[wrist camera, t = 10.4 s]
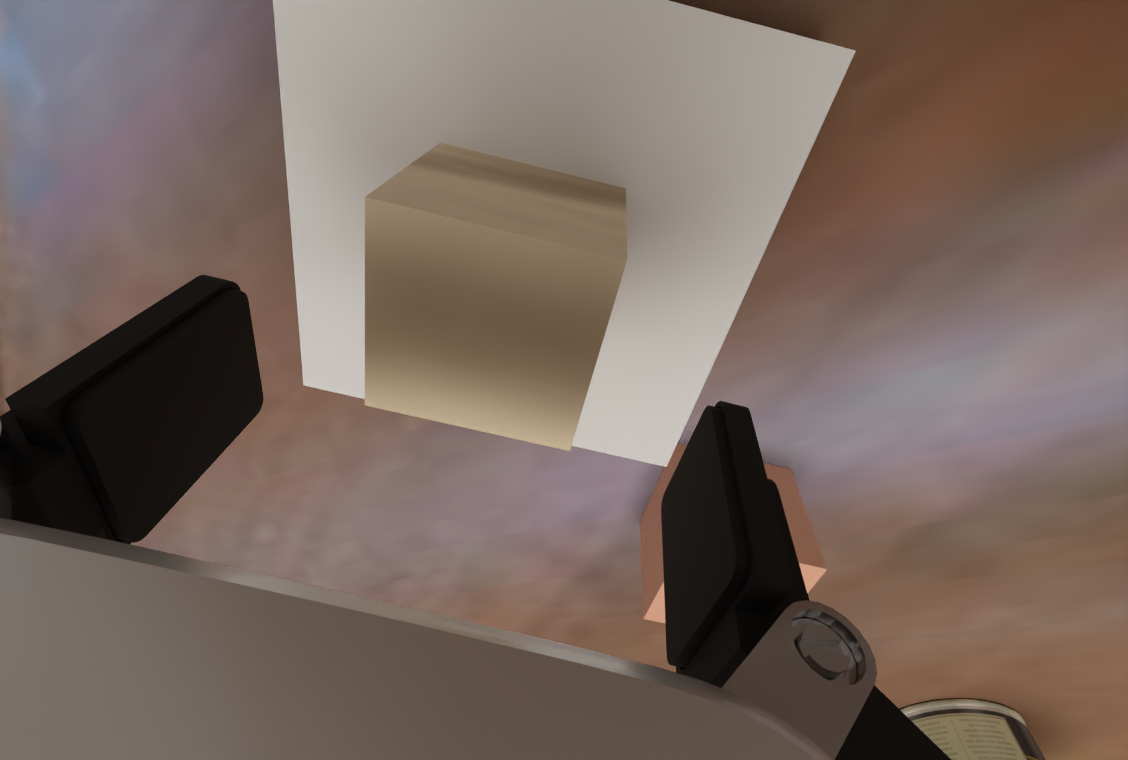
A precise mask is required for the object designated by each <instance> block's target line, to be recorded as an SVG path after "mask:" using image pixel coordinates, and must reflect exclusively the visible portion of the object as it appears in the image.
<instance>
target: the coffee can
mask: <svg viewBox="0 0 1128 760" xmlns="http://www.w3.org/2000/svg"><path fill="white" fill-rule="evenodd" d="M900 710H901V711H902V712H903V713H904V714H905V715H906V716H907V717H908V718H909V719H910V720H911V721H912V722H913V723H914V724H915V725H916V726H917V727H918V728H919V729H920V730H921V731H922V732H923V733H924V734H925V735H926V736H928V737H929V738H930V739H931V740H932V741H933V742H934V743H935V744H936V745H937V746H938V747H939V748H940V749H941V750H942V751H943V752H944V753H945V754H946V755H947V756H948V757H949V758H950V759H951V760H1045V758H1044V757H1043V755H1042V753H1041V751H1040V750H1039V748H1038V746H1037V745H1036V743H1035V741H1034V739H1033V737H1032V736H1031V734H1030V732H1029V730H1028V728H1027V725H1026V723H1025V721H1024V719H1023V718H1022V717H1021V716H1020V715H1019V714H1018V713H1017V712H1015V711H1014V710H1012V709H1010V708H1008V707H1006V706H1003V705H1001V704H998V703H994V702H990V701H983V700H976V699H944V700H934V701H929V702H925V703H920V704H915V705H911V706H908V707H906V708H903V709H900Z"/></svg>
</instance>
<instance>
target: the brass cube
mask: <svg viewBox="0 0 1128 760" xmlns="http://www.w3.org/2000/svg"><path fill="white" fill-rule="evenodd" d="M626 262H627V226H626V189H625V188H621V187H617V186H613V185H609V184H605V183H601V182H597V181H593V180H589V179H585V178H581V177H577V176H573V175H569V174H565V173H561V172H557V171H553V170H549V169H545V168H541V167H537V166H533V165H529V164H525V163H521V162H517V161H513V160H509V159H505V158H501V157H496V156H492V155H488V154H484V153H480V152H476V151H472V150H468V149H464V148H460V147H456V146H452V145H448V144H444V143H439V144H438V145H436V146H435V147H433V148H432V149H431V150H429V151H428V152H426V153H425V154H424V155H422V156H421V157H419V158H418V159H417V160H415V161H414V162H413V163H411V164H410V165H408V166H407V167H406V168H404V169H403V170H401V171H400V172H399V173H397V174H396V175H394V176H393V177H392V178H390V179H389V180H387V181H386V182H385V183H383V184H382V185H381V186H379V187H378V188H376V189H375V190H374V191H372V192H371V193H369V194H368V195H367V196H365V405H366V406H371V407H375V408H380V409H384V410H388V411H393V412H397V413H402V414H406V415H411V416H415V417H420V418H424V419H429V420H433V421H438V422H442V423H447V424H451V425H455V426H460V427H464V428H469V429H473V430H478V431H482V432H487V433H491V434H496V435H500V436H505V437H509V438H514V439H518V440H522V441H527V442H531V443H536V444H540V445H545V446H549V447H554V448H558V449H563V450H567V451H570V449H571V445H572V442H573V439H574V435H575V432H576V429H577V425H578V422H579V419H580V415H581V412H582V409H583V405H584V402H585V399H586V395H587V392H588V389H589V385H590V382H591V379H592V375H593V372H594V369H595V365H596V362H597V359H598V355H599V352H600V349H601V345H602V342H603V339H604V335H605V332H606V329H607V325H608V322H609V319H610V316H611V312H612V309H613V306H614V302H615V299H616V296H617V292H618V289H619V286H620V282H621V279H622V276H623V272H624V269H625V266H626Z"/></svg>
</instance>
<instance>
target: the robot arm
mask: <svg viewBox="0 0 1128 760" xmlns="http://www.w3.org/2000/svg"><path fill="white" fill-rule="evenodd" d="M5 400H6V401H7V403H8V405H9V407H10V409H11V410H10V411H8V412H7V413H5V414H3V415H2V416H0V760H951V759H950V758H949V757H948V756H947V755H946V754H945V753H944V752H943V751H942V750H941V749H940V748H939V747H938V746H937V745H936V744H935V743H934V742H933V741H932V740H931V739H930V738H929V737H928V736H926V735H925V734H924V733H923V732H922V731H921V730H920V729H919V728H918V727H917V726H916V725H915V724H914V723H913V722H912V721H911V720H910V719H909V718H908V717H907V716H906V715H905V714H904V713H903V712H902V711H901V710H899V709H898V708H897V707H896V706H895V705H894V704H893V703H892V702H891V701H890V700H889V699H888V698H887V697H886V696H885V695H884V694H883V693H882V692H881V691H880V690H879V689H878V688H877V687H876V686H875V685H874V684H875V680H876V676H877V670H876V663H875V658H874V656H873V653H872V651H871V649H870V646H869V644H868V643H867V641H866V640H865V638H864V637H863V636H862V634H861V633H860V631H859V630H858V629H857V628H856V627H855V626H854V625H853V624H852V623H851V622H850V621H849V620H848V619H847V618H846V617H844V616H843V615H841V614H840V613H839V612H837V611H836V610H834V609H833V608H831V607H828V606H826V605H824V604H821V603H819V602H813V601H809V598H808V594H807V590H806V587H805V583H804V580H803V576H802V572H801V569H800V565H799V562H798V558H797V555H796V551H795V547H794V544H793V540H792V537H791V533H790V529H789V526H788V522H787V519H786V515H785V512H784V508H783V504H782V501H781V497H780V494H779V490H778V488H777V485H776V483H775V482H774V481H773V480H771V479H768V478H767V475H766V471H765V467H764V463H763V459H762V456H761V452H760V448H759V444H758V441H757V437H756V433H755V429H754V425H753V422H752V418H751V414H750V411H749V409H748V408H747V407H743V406H739V405H735V404H731V403H727V402H723V401H719V402H718V403H717V404H716V405H715V407H713V406H707V407H706V408H705V410H704V412H703V414H702V416H701V418H700V420H699V422H698V424H697V426H696V428H695V430H694V432H693V434H692V436H691V439H690V441H689V443H688V445H687V447H686V449H685V451H684V453H683V455H682V457H681V459H680V461H679V463H678V465H677V467H676V470H675V472H674V474H673V476H672V478H671V480H670V482H669V484H668V486H667V488H666V490H665V492H664V495H663V498H662V504H661V523H662V548H663V572H664V597H665V622H666V647H667V660H668V663H669V664H670V665H673V666H676V673H675V672H672V671H669V670H665V669H662V668H659V667H655V666H651V665H647V664H644V663H640V662H636V661H632V660H628V659H624V658H620V657H616V656H612V655H608V654H604V653H600V652H596V651H592V650H588V649H584V648H580V647H576V646H572V645H568V644H564V643H559V642H555V641H551V640H547V639H542V638H538V637H534V636H529V635H525V634H521V633H517V632H512V631H508V630H504V629H499V628H495V627H491V626H487V625H482V624H478V623H474V622H469V621H465V620H461V619H457V618H452V617H448V616H444V615H439V614H435V613H431V612H427V611H422V610H418V609H413V608H409V607H405V606H400V605H396V604H392V603H387V602H383V601H378V600H374V599H370V598H365V597H361V596H357V595H352V594H348V593H344V592H339V591H335V590H330V589H326V588H322V587H317V586H313V585H308V584H304V583H299V582H295V581H291V580H286V579H282V578H277V577H273V576H269V575H264V574H260V573H255V572H251V571H247V570H242V569H238V568H233V567H229V566H224V565H220V564H215V563H211V562H206V561H202V560H197V559H193V558H188V557H184V556H179V555H175V554H170V553H166V552H161V551H157V550H152V549H148V548H143V547H139V546H134V545H130V544H131V543H132V542H133V543H134V542H138V541H140V540H142V539H143V538H144V537H145V536H146V535H147V534H148V533H149V532H150V531H151V530H152V529H153V528H154V527H155V526H156V525H157V523H158V522H159V521H160V520H161V519H162V518H163V517H164V516H165V515H166V514H167V513H168V511H169V510H170V509H171V508H172V507H173V506H174V505H175V504H176V503H177V502H178V500H179V499H180V498H181V497H182V496H183V495H184V494H185V493H186V492H187V491H188V490H189V488H190V487H191V486H192V485H193V484H194V483H195V482H196V481H197V480H198V479H199V478H200V476H201V475H202V474H203V473H204V472H205V471H206V470H207V469H208V468H209V467H210V466H211V464H212V463H213V462H214V461H215V460H216V459H217V458H218V457H219V456H220V455H221V453H222V452H223V451H224V450H225V449H226V448H227V447H228V446H229V445H230V444H231V443H232V441H233V440H234V439H235V438H236V437H237V436H238V435H239V434H240V433H241V432H242V431H243V429H244V428H245V427H246V426H247V425H248V424H249V423H250V422H251V421H252V420H253V418H254V417H255V416H256V415H257V414H258V413H259V411H260V409H261V407H262V404H263V392H262V385H261V379H260V372H259V366H258V360H257V353H256V347H255V340H254V334H253V328H252V321H251V315H250V308H249V302H248V298H247V295H246V294H245V293H244V292H242V291H241V290H240V287H239V286H238V285H237V284H236V283H235V282H232V281H228V280H224V279H220V278H216V277H212V276H207V275H201V276H198V277H196V278H195V279H193V280H192V281H190V282H188V283H187V284H185V285H184V286H182V287H181V288H179V289H177V290H176V291H174V292H173V293H171V294H170V295H168V296H166V297H165V298H163V299H162V300H160V301H159V302H157V303H155V304H154V305H152V306H151V307H149V308H148V309H146V310H144V311H143V312H141V313H140V314H138V315H137V316H135V317H133V318H132V319H130V320H129V321H127V322H125V323H124V324H122V325H121V326H119V327H118V328H116V329H114V330H113V331H111V332H110V333H108V334H107V335H105V336H103V337H102V338H100V339H99V340H97V341H96V342H94V343H92V344H91V345H89V346H88V347H86V348H85V349H83V350H81V351H80V352H78V353H77V354H75V355H74V356H72V357H70V358H69V359H67V360H66V361H64V362H62V363H61V364H59V365H58V366H56V367H55V368H53V369H51V370H50V371H48V372H47V373H45V374H44V375H42V376H40V377H39V378H37V379H36V380H34V381H33V382H31V383H29V384H28V385H26V386H25V387H23V388H22V389H20V390H18V391H17V392H15V393H14V394H12V395H11V396H9V397H7V398H6V399H5Z"/></svg>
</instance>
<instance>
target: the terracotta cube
mask: <svg viewBox="0 0 1128 760" xmlns="http://www.w3.org/2000/svg"><path fill="white" fill-rule="evenodd" d="M686 447H687V445H683V444H678V443H677V445H676V447H675V450H674V452H673V454H672V456H671V458H670V461H669V463H668V465H667V467H664V469H663V471H662V474H661V476H660V478H659V480H658V482H657V485H656V487H655V489H654V491H653V494H652V496H651V498H650V500H649V502H648V505H647V507H646V509H645V511H644V514H643V516H642V518H641V520H640V531H641V560H642V590H643V619H647V620H652V621H656V622H661V623H666V622H665V597H664V572H663V548H662V523H661V504H662V498H663V495H664V492H665V490H666V488H667V486H668V484H669V482H670V480H671V478H672V476H673V474H674V472H675V470H676V467H677V465H678V463H679V461H680V459H681V457H682V455H683V453H684V451H685V449H686ZM764 467H765V471H766V475H767V478H768V479H771V480H773V481H774V482H775V483H776V485H777V488H778V490H779V494H780V497H781V501H782V504H783V508H784V512H785V515H786V519H787V522H788V526H789V529H790V533H791V537H792V540H793V544H794V547H795V551H796V555H797V558H798V562H799V565H800V569H801V572H802V576H803V580H804V583H805V587H806V590H807V593H808V592H809V591H810V590H811V588H812V587H813V586H814V585H815V583H816V582H817V581H818V580H819V579H820V577H821V576H822V575H823V574H824V572H825V571H826V570H827V567H826V565H825V562H824V559H823V556H822V554H821V551H820V548H819V545H818V543H817V540H816V537H815V535H814V532H813V529H812V526H811V524H810V521H809V518H808V516H807V513H806V510H805V507H804V505H803V502H802V499H801V496H800V494H799V491H798V488H797V486H796V483H795V480H794V477H793V475H792V472H791V469H788V468H784V467H779V466H775V465H771V464H766V463H764Z"/></svg>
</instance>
